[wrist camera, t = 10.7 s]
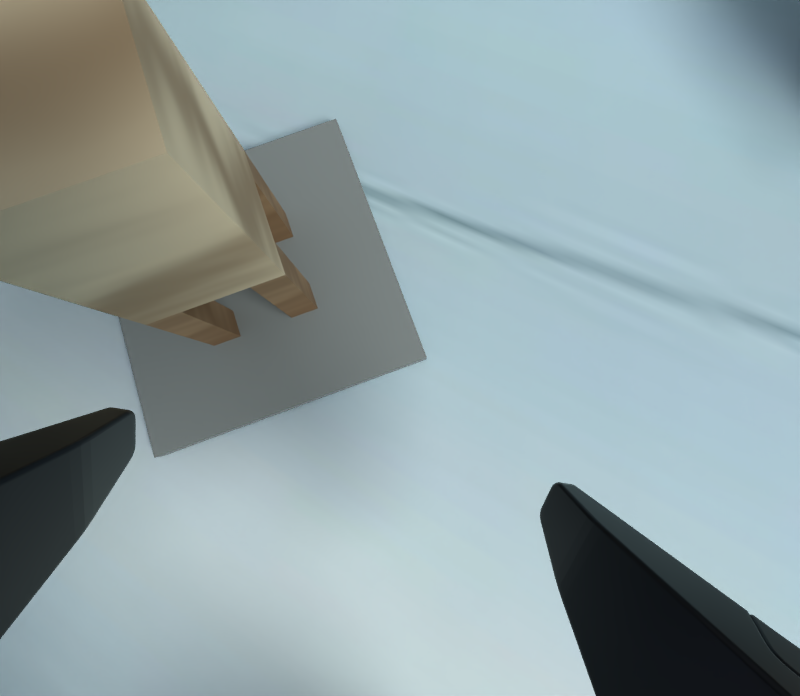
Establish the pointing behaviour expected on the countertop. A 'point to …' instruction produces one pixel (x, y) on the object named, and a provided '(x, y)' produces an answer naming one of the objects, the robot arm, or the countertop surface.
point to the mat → (272, 328)
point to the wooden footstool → (128, 175)
